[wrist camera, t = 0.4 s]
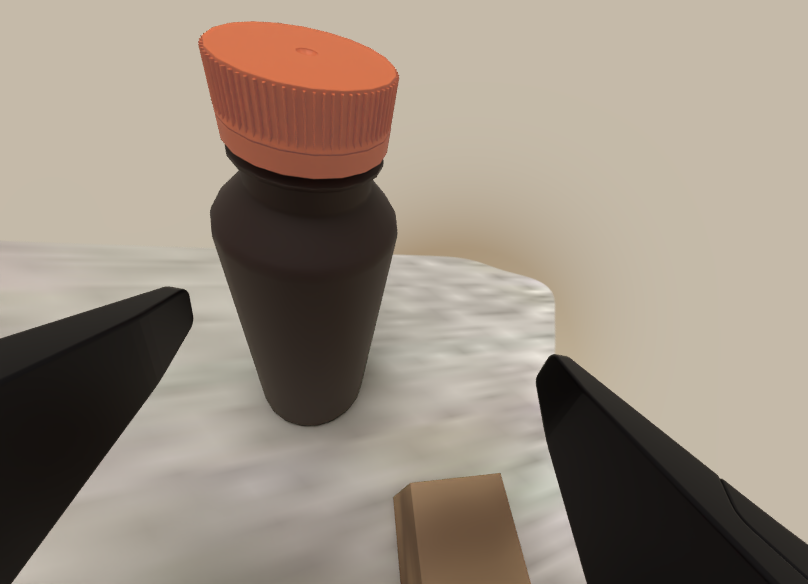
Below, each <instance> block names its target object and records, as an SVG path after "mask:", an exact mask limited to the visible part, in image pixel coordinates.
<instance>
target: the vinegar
mask: <svg viewBox="0 0 808 584" xmlns="http://www.w3.org/2000/svg"><path fill="white" fill-rule="evenodd" d="M198 43H199V44H198V45H199V49H200V53H201V58H202V62H203V66H204V70H205V75H206V79H207V83H208V88H209V92H210V96H211V100H212V104H213V107H214V112H215V116H216V120H217V125H218V129H219V133H220V137H221V140H222V141H223V142H224V143H225V149H226V154H227V157H228V158H229V159H230V160H231V161H232V162H233V164H234V165H235V166H236V167H237V168H238V170H239V171H238V172H237V173H236V174H235V175H234V176H233V177H232V178H231V179H230V180H229V181H228V182H227V183H226V184H225V185H224V186H222V188H221V189H220V191H219V193H218V195H217V197H216V199H215V201H214V203H213V205H212V207H211V210H210V217H211V230H212V237H213V240H214V243H215V246H216V249H217V252H218V255H219V258H220V261H221V264H222V267H223V270H224V273H225V276H226V279H227V282H228V285H229V288H230V292H231V295H232V298H233V301H234V304H235V307H236V310H237V313H238V316H239V319H240V322H241V325H242V328H243V331H244V334H245V337H246V340H247V343H248V346H249V349H250V352H251V355H252V358H253V361H254V364H255V367H256V370H257V373H258V376H259V379H260V382H261V385H262V388H263V391H264V394H265V397H266V399H267V401H268V402H269V404H270V406H271V408H272V409H273V411H274V412H276V413H277V414H278V415H280V416H281V417H282V418H283V419H285V420H287V421H290V422H293V423H296V424H299V425H319V424H322V423H325V422H328V421H331V420H334V419H335V418H337V417H338V416H339V415H341V414H342V413H344V412H345V411H347V410H348V408H349V407H350V406H351V404H352V403H353V402H354V400H355V399H356V398H357V395H358V392H359V389H360V386H361V383H362V379H363V375H364V371H365V367H366V363H367V359H368V354H369V350H370V346H371V342H372V338H373V334H374V330H375V326H376V321H377V317H378V313H379V309H380V305H381V301H382V297H383V292H384V288H385V284H386V280H387V276H388V272H389V268H390V264H391V259H392V255H393V251H394V247H395V243H396V239H397V225H396V215H395V211H394V209H393V208H392V206H391V204H390V203H389V201H388V199H387V197H386V196H385V194H384V193H383V191H382V190H381V189H380V188H379V187H378V186H377V184H376V183H375V182H374V181H373V179H374V178H376V177H377V175H378V174H379V172H380V170H381V169H382V167H383V158H384V157H385V155H386V153H387V148H388V143H389V137H390V131H391V123H392V117H393V111H394V105H395V99H396V93H397V87H398V81H399V75H398V72H396V69H395V67H394V66H393V65H392V64H391V63H390V62H389V61H388V60H387V59H386V58H385V57H384V56H382V55H380V54H379V53H377V52H375V51H374V50H372V49H371V48H369V47H366V46H364V45H362V44H360V43H357V42H355V41H353V40H350V39H347V38H344V37H341V36H337V35H335V34H331V33H328V32H324V31H320V30H315V29H311V28H307V27H302V26H295V25H288V24H282V23H271V22H254V21H251V22H233V23H227V24H223V25H219V26H215V27H212V28H211V29H209V30H208V31H206V33H203V35H202V36H201V38H199V41H198Z"/></svg>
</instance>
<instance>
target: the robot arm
mask: <svg viewBox="0 0 808 584" xmlns="http://www.w3.org/2000/svg"><path fill="white" fill-rule="evenodd" d="M192 324H193V313H192V307H191V302H190V296H189V293H188V292H187V291H186V290H185V289H180V288H175V287H162V288H159V289H156V290H153V291H150V292H147V293H143V294H140V295H137V296H134V297H131V298H128V299H124V300H121V301H118V302H115V303H112V304H108V305H105V306H102V307H99V308H96V309H93V310H89V311H86V312H83V313H80V314H77V315H74V316H70V317H67V318H64V319H61V320H58V321H55V322H51V323H48V324H45V325H42V326H39V327H35V328H32V329H29V330H26V331H23V332H20V333H16V334H13V335H10V336H7V337H4V338H1V339H0V584H11V583H12V582H13V581H14V579H15V578H16V577H17V575H18V574H19V573H20V571H21V570H22V568H23V567H24V566H25V564H26V563H27V562H28V560H29V559H30V558H31V556H32V555H33V554H34V552H35V551H36V549H37V548H38V547H39V545H40V544H41V543H42V541H43V540H44V539H45V537H46V536H47V535H48V533H49V532H50V530H51V529H52V528H53V526H54V525H55V524H56V522H57V521H58V520H59V518H60V517H61V515H62V514H63V513H64V511H65V510H66V509H67V507H68V506H69V505H70V503H71V502H72V501H73V499H74V498H75V496H76V495H77V494H78V492H79V491H80V490H81V488H82V487H83V486H84V484H85V483H86V482H87V480H88V479H89V477H90V476H91V475H92V473H93V472H94V471H95V469H96V468H97V467H98V465H99V464H100V462H101V461H102V460H103V458H104V457H105V456H106V454H107V453H108V452H109V450H110V449H111V448H112V446H113V445H114V443H115V442H116V441H117V439H118V438H119V437H120V435H121V434H122V433H123V431H124V430H125V429H126V427H127V426H128V424H129V423H130V422H131V420H132V419H133V418H134V416H135V415H136V414H137V412H138V411H139V409H140V408H141V407H142V405H143V404H144V403H145V401H146V400H147V399H148V397H149V396H150V395H151V393H152V392H153V390H154V389H155V387H156V386H157V385H158V383H159V382H160V380H161V378H162V377H163V375H164V374H165V372H166V370H167V368H168V367H169V365H170V363H171V361H172V360H173V358H174V356H175V355H176V353H177V351H178V349H179V348H180V346H181V344H182V342H183V341H184V339H185V337H186V336H187V334H188V332H189V330H190V329H191V327H192ZM536 388H537V393H538V399H539V404H540V410H541V416H542V421H543V427H544V432H545V437H546V441H547V445H548V449H549V452H550V456H551V459H552V463H553V466H554V470H555V473H556V477H557V480H558V484H559V487H560V491H561V494H562V498H563V502H564V505H565V509H566V512H567V516H568V519H569V523H570V526H571V530H572V533H573V537H574V540H575V544H576V547H577V551H578V554H579V558H580V561H581V565H582V568H583V572H584V575H585V579H586V582H587V584H808V544H806V543H805V542H804V541H802V540H801V539H800V538H798V537H797V536H796V535H794V534H793V533H792V532H790V531H789V530H788V529H786V528H785V527H784V526H782V525H781V524H780V523H778V522H777V521H776V520H774V519H773V518H772V517H771V516H769V515H768V514H767V513H765V512H764V511H763V510H762V509H760V508H759V507H758V506H756V505H755V504H754V503H752V502H751V501H750V500H749V499H747V498H746V497H745V496H744V495H742V494H741V493H740V492H738V491H737V490H736V489H735V488H733V487H732V486H731V485H730V484H728V483H727V482H726V481H725V480H723V479H720V478H719V476H718V475H717V474H716V473H714V472H713V471H712V470H710V469H709V468H708V467H707V466H706V465H704V464H703V463H702V462H700V461H699V460H698V459H697V458H695V457H694V456H693V455H692V454H690V453H689V452H688V451H687V450H685V449H684V448H683V447H682V446H680V445H679V444H677V442H675V441H674V440H673V439H671V438H670V437H669V436H668V435H666V434H665V433H664V432H663V431H661V430H660V429H659V428H658V427H656V426H655V425H654V424H652V423H651V422H650V421H649V420H647V419H646V418H645V417H644V416H642V415H641V414H640V413H639V412H637V411H636V410H635V409H634V408H632V407H631V406H630V405H629V404H627V403H626V402H625V401H623V400H622V399H621V398H620V397H619V396H617V395H616V394H615V393H613V392H612V391H611V390H610V389H608V388H607V387H606V386H605V385H603V384H602V383H601V382H599V381H598V380H597V379H596V378H595V377H593V376H592V375H591V374H589V373H588V372H587V371H586V370H584V369H583V368H582V367H581V366H579V365H578V364H577V363H576V362H574V361H573V360H572V359H571V358H569V357H567V356H562V355H556V354H553V355H551V356H549V357H548V359H547V360H546V362H545V364H544V365H543V367H542V368H541V370H540V372H539V373H538V375H537V378H536Z"/></svg>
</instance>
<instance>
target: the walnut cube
mask: <svg viewBox="0 0 808 584" xmlns="http://www.w3.org/2000/svg"><path fill="white" fill-rule="evenodd" d="M393 500H394V511H395V523H396V535H397V547H398V559H399V570H400V582H401V584H531V582H530V579H529V575H528V572H527V568H526V564H525V561H524V557H523V553H522V550H521V546H520V542H519V539H518V535H517V532H516V528H515V524H514V521H513V517H512V513H511V510H510V506H509V502H508V499H507V495H506V492H505V488H504V484H503V481H502V477H501V473H497V474H488V475H479V476H469V477H460V478H451V479H442V480H433V481H424V482H415V483H410V484H409V485H407V486H406V487H405V488H404V489H403V490H401V491H400V492H399V493H398V494H397V495H396V496H394V497H393Z"/></svg>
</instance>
